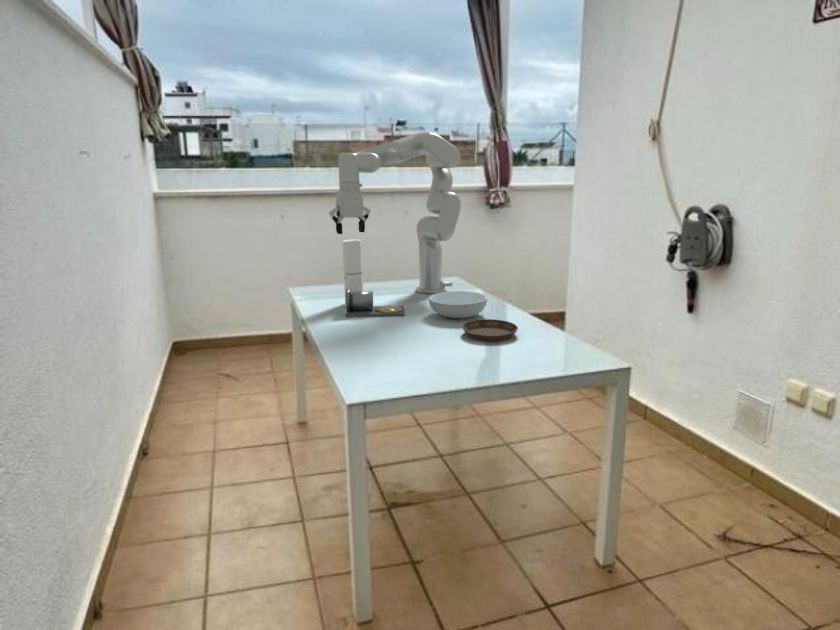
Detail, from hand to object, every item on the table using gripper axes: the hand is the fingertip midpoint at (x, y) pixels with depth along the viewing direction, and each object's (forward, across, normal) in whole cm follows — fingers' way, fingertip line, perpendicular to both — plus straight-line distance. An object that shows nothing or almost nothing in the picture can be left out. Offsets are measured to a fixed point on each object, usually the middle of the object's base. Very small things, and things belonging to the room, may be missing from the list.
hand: (350, 232), depth 225 cm
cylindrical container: (+28, -1, 0) cm, 28 cm away
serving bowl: (+28, -21, +39) cm, 52 cm away
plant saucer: (+28, -13, +64) cm, 71 cm away
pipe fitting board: (+28, 0, +17) cm, 33 cm away
